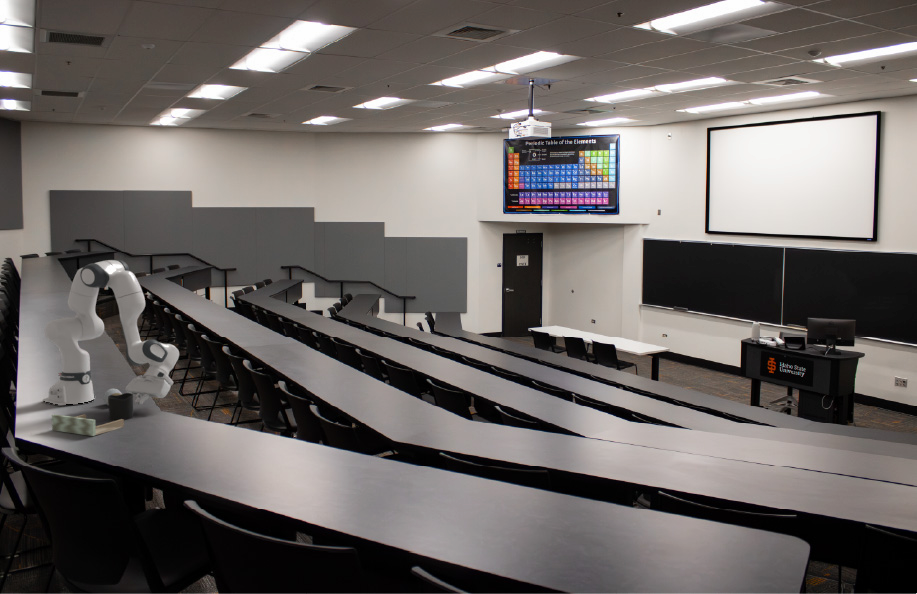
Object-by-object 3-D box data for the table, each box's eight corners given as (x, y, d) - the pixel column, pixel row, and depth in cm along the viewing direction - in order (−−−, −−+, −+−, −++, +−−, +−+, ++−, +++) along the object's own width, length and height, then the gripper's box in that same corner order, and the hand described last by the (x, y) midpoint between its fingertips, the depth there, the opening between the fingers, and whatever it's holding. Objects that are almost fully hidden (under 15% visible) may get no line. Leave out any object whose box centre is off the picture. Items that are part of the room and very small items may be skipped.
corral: (52, 430, 270) (51, 415, 270) (84, 421, 284) (83, 407, 284) (93, 435, 263) (92, 420, 263) (123, 426, 277) (123, 412, 276)
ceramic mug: (108, 409, 306) (107, 392, 305) (103, 406, 312) (102, 389, 311) (133, 406, 312) (133, 389, 312) (128, 402, 319) (128, 386, 318)
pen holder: (127, 422, 284) (126, 398, 283) (104, 422, 284) (103, 398, 283) (138, 416, 293) (137, 393, 292) (116, 415, 294) (115, 392, 293)
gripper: (132, 371, 307) (115, 397, 298) (169, 374, 300) (152, 401, 291) (140, 379, 311) (123, 405, 303) (176, 383, 304) (160, 409, 296)
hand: (137, 403), depth 297 cm, fingers closed
